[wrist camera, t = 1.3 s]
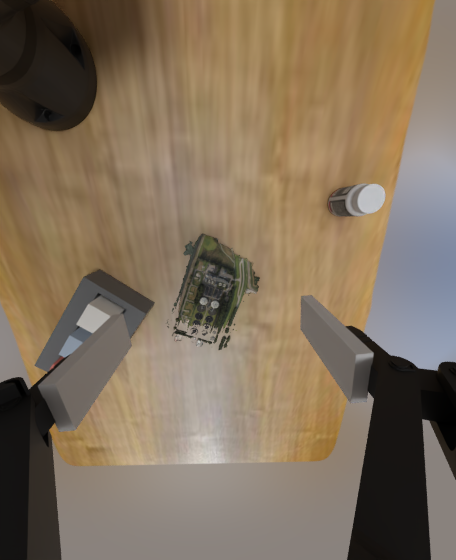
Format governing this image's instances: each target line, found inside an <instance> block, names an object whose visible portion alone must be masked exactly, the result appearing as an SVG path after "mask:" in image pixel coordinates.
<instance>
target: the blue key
mask: <svg viewBox="0 0 456 560" xmlns="http://www.w3.org/2000/svg"><path fill="white" fill-rule="evenodd" d="M92 334H93V333H91V332H89V331H87V330H85V329H84V328H82V327H80V328H78V329H77V330H76V331H75V332H73V333H72V334H71V335H70V336H69V337H68V339H67V341H66V342H65V344H64V346H63V348H62V349H61V351H60V353H59V355H61V356H63V357H64V358H65V357H66V356H68V355H70V354H72V353H73V352H74V351H75V350H76V349H77V348H78V347H79V346H80V345H81V344H82V343H83V342H84V341H85V340H87V339H88V338H89V337H90V336H91V335H92Z"/></svg>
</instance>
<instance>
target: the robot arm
mask: <svg viewBox="0 0 456 560" xmlns="http://www.w3.org/2000/svg"><path fill="white" fill-rule="evenodd" d="M95 94H96V71H95V66H94V62H93V58H92V55H91V53H90V50H89V48H88V46H87V44H86V42H85V40H84V39H83V37H82V35H81V34H80V33H79V31H78V30H77V29H76V27H75V26H74V25H73V24H72V22H71V21H70V20H69V18H68V17H67V16H66V15H65V14H64V13H63V11H62V10H61V9H60V8H59V7H57V6H56V5H55V4H54V3H53V2H52V1H51V0H0V103H1V104H2V105H3V106H4V107H5V108H7V109H8V110H9V111H10V112H12V113H13V114H15V115H16V116H18V117H19V118H21V119H23V120H25V121H27V122H29V123H31V124H33V125H36V126H38V127H41V128H44V129H48V130H65V129H69V128H72V127H74V126H76V125H77V124H79V123H80V122H81V121H82V120H83V119H84V118H85V117H86V116H87V114H88V113H89V111H90V109H91V108H92V105H93V102H94V99H95ZM301 330H302V332H303V333H304V335H305V336H306V338H307V339H308V341H309V342H310V344H311V345H312V347H313V348H314V350H315V351H316V353H317V354H318V356H319V357H320V359H321V360H322V362H323V363H324V365H325V366H326V367H327V369H328V370H329V372H330V373H331V375H332V376H333V378H334V379H335V381H336V382H337V384H338V385H339V387H340V388H341V390H342V391H343V393H344V394H345V396H346V397H347V399H348V400H349V401H350V403H358V402H366V401H367V395H368V392H369V393H370V394H371V396H372V397H373V398H374V403H373V408H372V414H371V420H370V427H369V433H368V439H367V444H366V450H365V456H364V463H363V468H362V475H361V480H360V487H359V492H358V498H357V505H356V511H355V517H354V523H353V529H352V534H351V540H350V546H349V552H348V558H347V560H431V554H430V538H429V522H428V506H427V491H426V490H427V489H426V474H425V458H424V442H423V425H422V419H425V420H429V421H430V423H431V426H432V428H433V430H434V432H435V434H436V437H437V439H438V441H439V444H440V446H441V448H442V450H443V452H444V455H445V457H446V459H447V461H448V464H449V466H450V468H451V471H452V472H453V475H454V477H455V479H456V363H455V362H442V363H441V364H440V365H439V367H438V371H434V370H427V369H419V368H417V367H416V366H415V365H414V364H413V363H412V362H410V361H408V360H406V359H404V358H401V357H397V356H390V355H389V354H388V353H387V352H386V351H384V350H383V349H382V348H381V347H380V346H378V345H377V344H376V343H375V342H374V341H372V340H371V339H370V338H369V337H367V335H366V334H364V333H363V332H362V331H361V330H359V329H357V328H355V327H353V326H344V325H343V324H342V323H341V322H340V321H339V320H338V319H337V318H336V317H334V316H333V315H332V314H331V313H330V312H329V311H328V310H327V309H326V308H325V307H324V306H323V305H322V304H320V303H319V302H318V301H317V300H316V299H315V298H314V297H313V296H312V295H308V296H301ZM131 346H132V344H131V341H130V337H129V333H128V330H127V326H126V322H125V319H124V315H123V314H114V315H112V316H111V317H110V318H109V319H108V320H107V321H105V322H104V323H103V324H102V325H101V326H100V327H99V328H98V329H97V330H96V331H95V332H94V333H93V334H92V335H91V336H90V337H89V338H88V339H87V340H85V341H84V342H83V343H82V344H81V345H80V346H79V347H78V348H77V349H76V350H75V351H74V352H73V353H72V354H70V355H68V356H66V357H65V358H63V359H62V360H60V361H59V362H58V363H57V364H56V365H55V366H54V367H53V368H52V369H51V370H50V371H48V372H47V374H45V375H44V376H43V377H42V378H41V379H40V380H39V381H38V382H37V383H35V384H34V385H33V386H32V387H31V388H30V389H29V390H28V388H27V386H26V383H25V381H24V380H23V378H21V377H17V378H11V379H9V380H6V381H3V382H1V383H0V560H61V548H60V535H59V523H58V511H57V498H56V486H55V474H54V461H53V449H52V437H51V434H50V432H49V429H50V428H51V427H52V426H53V424H54V423H55V424H56V426H57V428H58V430H59V432H62V431H72V430H76V429H77V427H78V426H79V424H80V423H81V421H82V420H83V418H84V417H85V415H86V414H87V412H88V411H89V409H90V408H91V406H92V405H93V403H94V402H95V400H96V399H97V397H98V396H99V394H100V393H101V391H102V390H103V388H104V387H105V385H106V384H107V382H108V381H109V379H110V378H111V376H112V375H113V373H114V372H115V370H116V369H117V367H118V366H119V364H120V363H121V361H122V360H123V358H124V357H125V355H126V354H127V352H128V351H129V349H130V348H131Z"/></svg>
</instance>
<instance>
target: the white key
mask: <svg viewBox="0 0 456 560" xmlns="http://www.w3.org/2000/svg"><path fill="white" fill-rule="evenodd" d="M124 309H125V308H123V307H122V306H120V305H118V304H117V303H115V302H113V301H112V300H110V299H108V298H106V297H105V296H103V295H101V296H99V297H98V298H96V299H95V300H93V301H92V302H90V303H89V304H88V305H87V307H86V309H85V310H84V312H83V314H82V316H81V317H80V319H79V321H78V322H77V324H76V325H78V326H80V327H82V328H84V329H85V330H87V331H89V332H91V333H94V332H95V331H96V330H97V329H98V328H99V327H100V326H101V325H102V324H103V323H104V322H105V321H107V320H108V319H109V318H110V317H111V316H112V315H114V314H122V313H123V311H124Z"/></svg>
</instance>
